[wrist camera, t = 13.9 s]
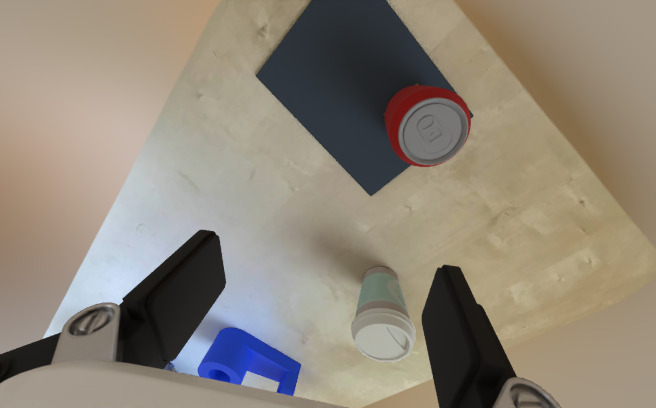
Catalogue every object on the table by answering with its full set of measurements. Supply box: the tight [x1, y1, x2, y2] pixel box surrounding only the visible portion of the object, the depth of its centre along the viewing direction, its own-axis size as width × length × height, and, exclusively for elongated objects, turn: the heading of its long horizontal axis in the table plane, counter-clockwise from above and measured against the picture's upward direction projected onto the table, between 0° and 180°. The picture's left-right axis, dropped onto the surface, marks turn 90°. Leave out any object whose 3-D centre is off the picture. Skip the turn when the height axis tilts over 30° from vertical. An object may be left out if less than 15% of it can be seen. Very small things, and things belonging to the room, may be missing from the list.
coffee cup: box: [351, 266, 416, 362], centre depth 38 cm, size 8×8×12 cm
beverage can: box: [385, 85, 471, 167], centre depth 26 cm, size 7×7×12 cm
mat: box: [256, 0, 473, 196], centre depth 32 cm, size 22×16×1 cm
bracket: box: [198, 328, 301, 396], centre depth 55 cm, size 20×9×8 cm, turn 63°
